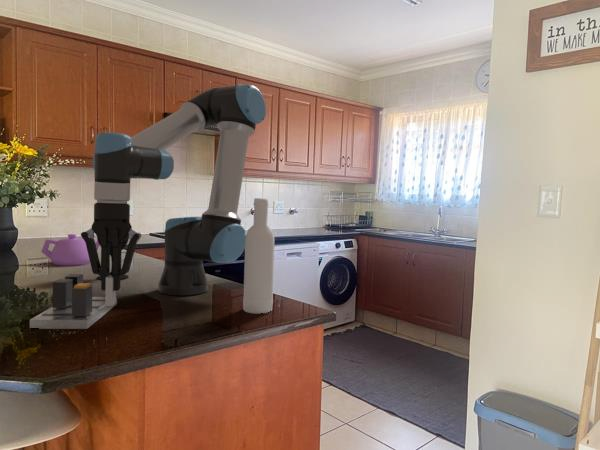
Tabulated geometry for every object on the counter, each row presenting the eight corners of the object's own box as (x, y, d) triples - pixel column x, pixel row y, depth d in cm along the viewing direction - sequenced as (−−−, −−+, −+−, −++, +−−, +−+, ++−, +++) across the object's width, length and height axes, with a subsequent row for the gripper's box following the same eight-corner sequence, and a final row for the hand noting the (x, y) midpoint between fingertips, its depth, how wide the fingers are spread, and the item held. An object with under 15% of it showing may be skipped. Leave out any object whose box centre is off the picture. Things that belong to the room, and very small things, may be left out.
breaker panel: (116, 304, 121) (117, 273, 120) (87, 328, 99) (87, 291, 98) (70, 303, 119) (70, 272, 119) (29, 328, 97) (29, 290, 97)
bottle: (249, 315, 114) (252, 198, 112) (238, 307, 121) (241, 197, 119) (277, 312, 118) (281, 199, 116) (265, 305, 125) (269, 198, 123)
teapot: (39, 267, 171) (39, 236, 170) (43, 261, 185) (43, 232, 185) (101, 265, 180) (101, 236, 180) (101, 259, 195) (101, 232, 194)
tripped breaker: (92, 311, 104) (92, 282, 104) (85, 316, 100) (86, 286, 100) (78, 311, 104) (78, 282, 104) (71, 316, 100) (71, 286, 100)
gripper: (145, 203, 106) (143, 301, 107) (88, 200, 104) (86, 300, 106) (137, 203, 98) (135, 308, 100) (75, 201, 97) (74, 308, 98)
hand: (110, 304), depth 103 cm, fingers closed
